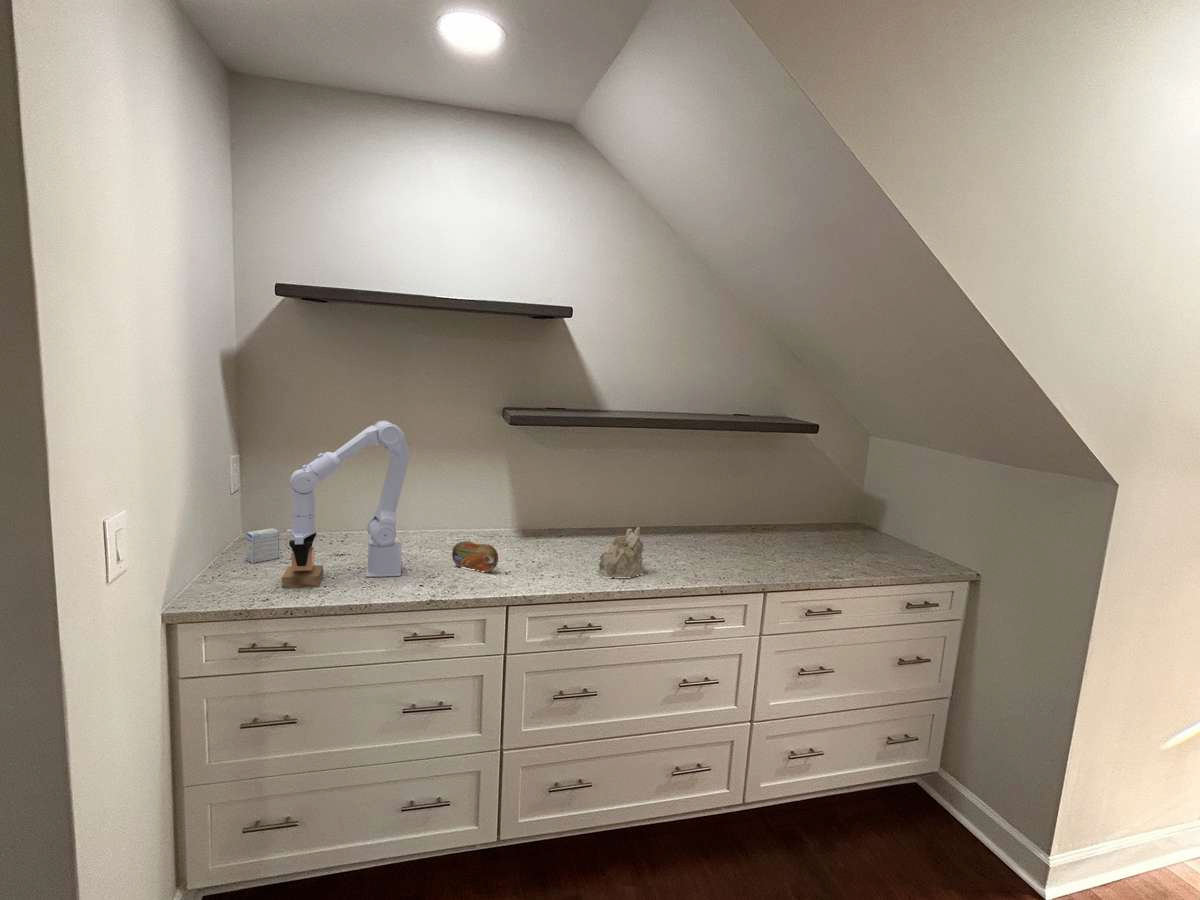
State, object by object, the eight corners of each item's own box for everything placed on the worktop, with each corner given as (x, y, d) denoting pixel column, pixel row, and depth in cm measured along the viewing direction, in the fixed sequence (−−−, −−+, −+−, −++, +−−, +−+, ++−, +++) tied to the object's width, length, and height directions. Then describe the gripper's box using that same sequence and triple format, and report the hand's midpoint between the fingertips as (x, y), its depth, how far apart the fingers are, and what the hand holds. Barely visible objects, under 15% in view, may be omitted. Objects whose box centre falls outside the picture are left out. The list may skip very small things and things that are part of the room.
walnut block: (323, 575, 179) (323, 565, 178) (318, 586, 170) (318, 575, 170) (288, 576, 176) (288, 566, 176) (282, 588, 167) (282, 577, 167)
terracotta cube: (314, 564, 176) (314, 547, 175) (311, 570, 171) (311, 552, 170) (294, 565, 174) (294, 547, 173) (291, 570, 169) (291, 552, 169)
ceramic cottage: (631, 560, 209) (632, 517, 206) (651, 579, 194) (652, 532, 191) (586, 565, 204) (587, 521, 201) (603, 585, 189) (604, 537, 186)
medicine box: (273, 555, 193) (273, 527, 192) (280, 558, 190) (279, 530, 189) (245, 560, 187) (245, 532, 186) (252, 564, 184) (252, 535, 183)
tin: (451, 566, 193) (451, 539, 192) (457, 563, 196) (457, 537, 195) (493, 575, 187) (494, 547, 186) (499, 572, 190) (500, 545, 189)
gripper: (291, 507, 176) (291, 554, 178) (281, 521, 162) (282, 571, 164) (318, 507, 178) (318, 554, 180) (311, 520, 164) (311, 570, 166)
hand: (303, 562), depth 172 cm, fingers closed on terracotta cube, 5 cm apart
